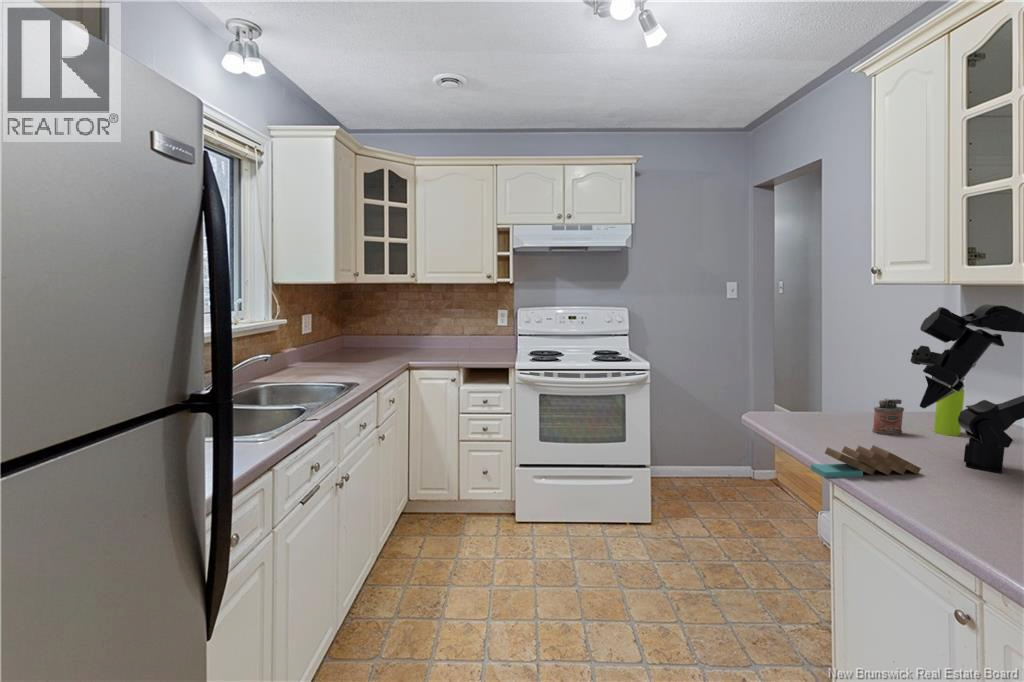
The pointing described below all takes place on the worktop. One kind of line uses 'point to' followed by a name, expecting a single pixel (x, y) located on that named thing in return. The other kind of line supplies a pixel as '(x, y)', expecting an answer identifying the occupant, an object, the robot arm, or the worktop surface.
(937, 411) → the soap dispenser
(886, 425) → the red tin can
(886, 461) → the domino
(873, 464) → the domino
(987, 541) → the worktop surface
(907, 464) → the domino
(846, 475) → the domino
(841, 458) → the domino
